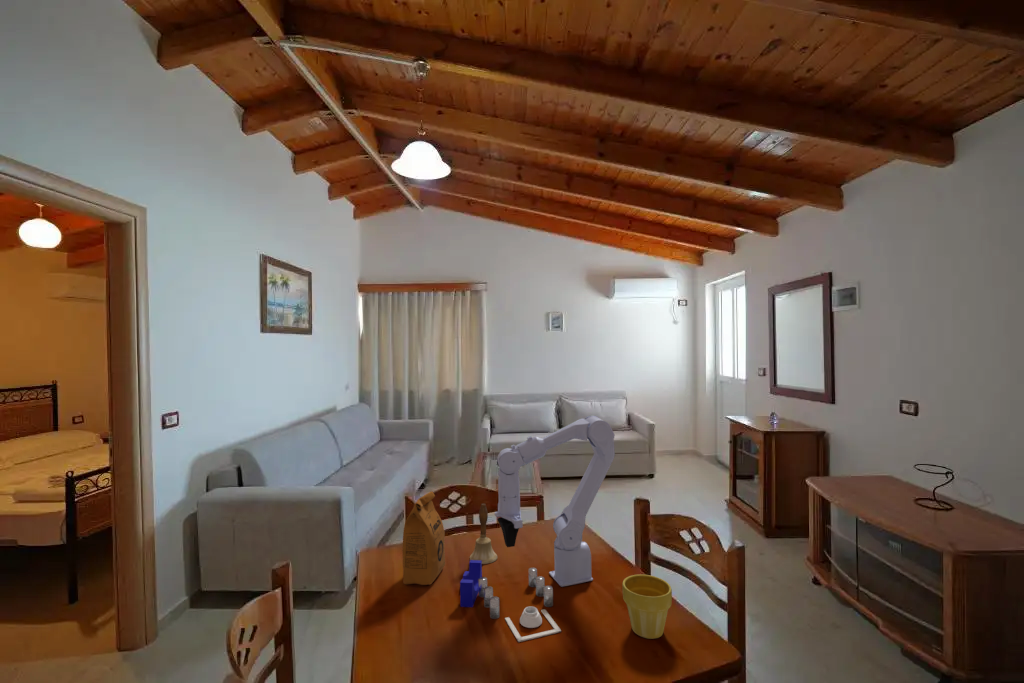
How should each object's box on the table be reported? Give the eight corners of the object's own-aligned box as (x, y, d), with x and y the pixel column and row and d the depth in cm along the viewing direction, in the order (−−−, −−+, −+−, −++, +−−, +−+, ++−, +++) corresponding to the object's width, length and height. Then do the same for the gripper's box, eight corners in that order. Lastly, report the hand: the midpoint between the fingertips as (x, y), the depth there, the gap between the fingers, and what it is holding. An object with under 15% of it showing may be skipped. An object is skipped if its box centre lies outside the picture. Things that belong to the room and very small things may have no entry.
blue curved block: (465, 582, 126) (465, 559, 126) (482, 583, 125) (481, 560, 125) (454, 607, 114) (454, 582, 114) (472, 608, 113) (472, 582, 113)
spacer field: (535, 582, 125) (535, 567, 125) (554, 605, 113) (554, 589, 113) (477, 593, 119) (477, 577, 119) (491, 619, 108) (491, 602, 108)
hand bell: (481, 549, 145) (480, 498, 145) (503, 556, 140) (502, 502, 141) (463, 560, 139) (462, 505, 139) (485, 567, 134) (484, 511, 134)
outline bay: (544, 610, 111) (544, 609, 111) (561, 631, 103) (561, 630, 103) (504, 619, 108) (504, 617, 108) (518, 642, 99) (518, 640, 99)
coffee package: (451, 568, 133) (449, 490, 134) (431, 590, 121) (430, 505, 122) (419, 564, 136) (418, 488, 136) (397, 585, 124) (396, 502, 124)
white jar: (540, 616, 109) (519, 617, 109) (540, 603, 109) (519, 604, 109) (543, 629, 104) (520, 630, 104) (542, 615, 104) (520, 616, 104)
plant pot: (652, 612, 110) (651, 570, 110) (683, 637, 100) (681, 591, 100) (614, 622, 106) (613, 578, 106) (642, 649, 96) (641, 601, 97)
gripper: (487, 488, 131) (488, 537, 131) (503, 505, 117) (504, 559, 117) (511, 485, 133) (511, 534, 133) (529, 501, 120) (530, 555, 120)
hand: (510, 545), depth 125 cm, fingers closed
